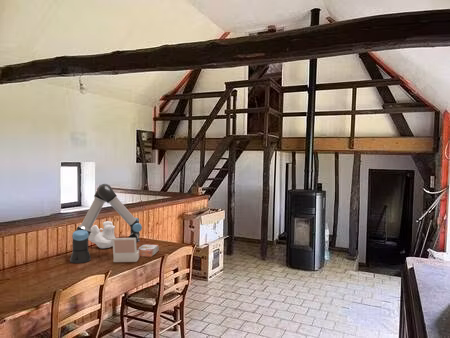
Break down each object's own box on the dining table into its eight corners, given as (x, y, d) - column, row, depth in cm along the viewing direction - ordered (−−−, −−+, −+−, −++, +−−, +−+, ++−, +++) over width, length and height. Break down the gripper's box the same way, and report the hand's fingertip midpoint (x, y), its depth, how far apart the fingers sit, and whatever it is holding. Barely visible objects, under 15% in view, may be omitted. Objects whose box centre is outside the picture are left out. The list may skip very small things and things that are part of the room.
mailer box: (117, 257, 289) (117, 250, 288) (139, 257, 290) (139, 249, 290) (113, 262, 275) (113, 254, 274) (136, 261, 276) (136, 254, 276)
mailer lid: (112, 238, 271) (112, 238, 270) (136, 237, 272) (135, 238, 272) (113, 254, 274) (113, 254, 274) (136, 253, 276) (136, 254, 276)
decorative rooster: (118, 246, 329) (118, 219, 328) (110, 250, 313) (110, 222, 313) (93, 244, 332) (93, 218, 332) (84, 248, 317) (84, 221, 316)
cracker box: (159, 244, 311) (151, 250, 290) (159, 250, 311) (151, 257, 290) (143, 243, 312) (135, 249, 292) (143, 250, 312) (135, 256, 292)
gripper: (141, 242, 298) (137, 249, 275) (125, 242, 297) (120, 249, 273) (140, 233, 298) (137, 239, 275) (125, 234, 297) (120, 240, 273)
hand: (128, 244), depth 274 cm, fingers closed
